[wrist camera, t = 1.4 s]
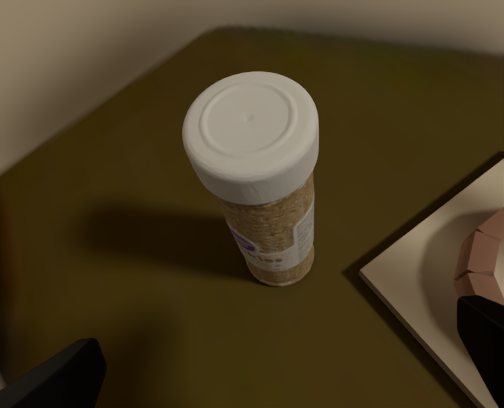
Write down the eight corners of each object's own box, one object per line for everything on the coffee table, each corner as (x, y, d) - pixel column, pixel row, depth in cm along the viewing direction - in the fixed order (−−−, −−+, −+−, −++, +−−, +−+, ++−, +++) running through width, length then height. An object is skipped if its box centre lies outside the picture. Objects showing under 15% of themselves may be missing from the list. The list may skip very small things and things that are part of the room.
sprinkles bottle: (234, 271, 23) (151, 150, 11) (264, 213, 24) (220, 53, 13) (298, 301, 21) (282, 198, 10) (326, 237, 23) (340, 82, 11)
